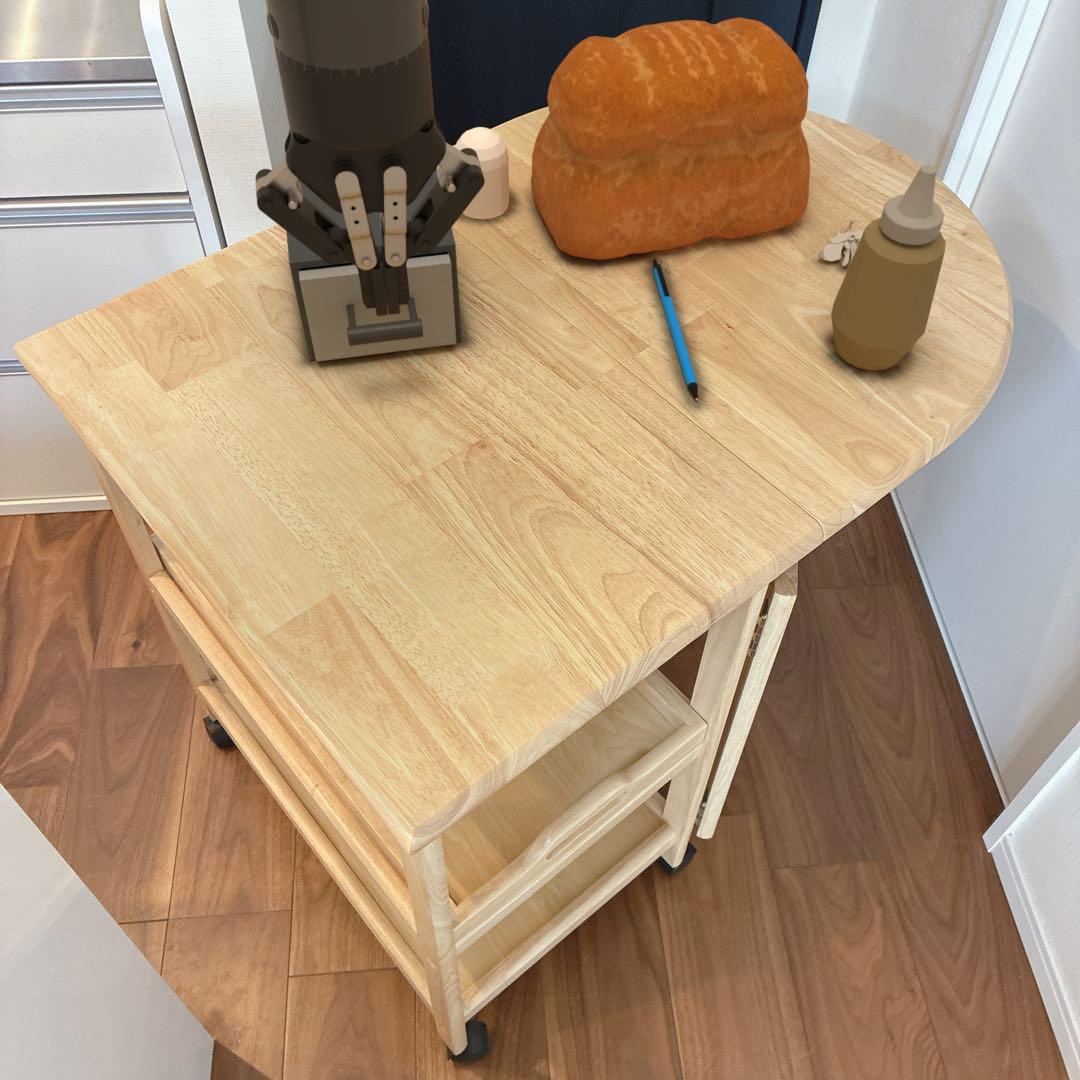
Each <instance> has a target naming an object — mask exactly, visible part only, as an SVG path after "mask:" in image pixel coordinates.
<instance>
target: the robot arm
mask: <svg viewBox="0 0 1080 1080" xmlns="http://www.w3.org/2000/svg"><path fill="white" fill-rule="evenodd" d="M265 4H266V9H267V10H266V11H267V13H266V21H267V26H268V29H269V33H270V35H271V37H272V41H273V45H274V53H275V57H276V63H277V68H278V74H279V78H280V83H281V89H282V95H283V99H284V104H285V110H286V116H287V121H288V126H289V130H288V134H287V136H286V139H285V142H284V152H285V157H284V158H283V159H282V160H281V161H280V162H279V163H278V164H277V165H276V166H275V167H273V168H272V169H270V168H263V169H260V170H258V171H257V173H256V174H255V197H256V204H257V208H258V210H259V211H260V212H261V213H262V214H264V215H266V216H267V217H268V218H269V219H270V220H272V221H273V222H274V223H275V224H277V225H278V226H280V227H281V229H283V230H285V232H286V231H287V232H288V233H290V234H291V235H292V236H294V237H295V238H296V239H297V240H299V241H300V242H301V243H302V244H304V245H305V246H306V247H308V248H309V249H310V250H311V251H313V252H314V253H315V254H316V255H318V256H319V257H320V258H322V259H323V260H324V261H325V262H327V263H328V264H331V265H336V264H339V263H341V262H342V261H348V262H351V263H353V264H354V265H355V266H356V267H357V269H358V273H359V280H360V286H361V293H362V299H363V303H364V305H365V306H366V308H367V309H370V308H376V314H377V316H385V315H388V312H389V315H394V314H400V306H399V305H404V304H408V301H409V298H410V293H409V284H408V275H407V260H408V259H409V257H410V256H412V255H413V254H415V253H418V252H420V253H422V254H428V253H431V252H432V251H434V249H435V248H436V247H437V246H438V244H439V243H440V242H441V240H442V239H443V238H444V236H445V235H446V234H447V233H448V231H449V230H450V229H451V228H452V227H453V226H454V225H455V224H456V223H457V221H458V219H459V218H460V217H461V216H462V215H463V214H462V213H463V212H464V211H465V209H466V208H467V207H468V205H469V204H470V203H471V201H472V200H473V199H474V198H475V196H476V195H477V194H478V192H479V191H480V190H481V188H482V187H483V186H484V183H485V179H484V176H483V172H482V169H481V166H480V162H479V159H478V156H477V153H476V151H475V150H473V149H471V148H464V149H462V150H458V149H456V148H455V147H454V146H453V145H451V144H450V143H448V142H446V138H445V135H444V130H443V128H442V126H441V125H440V123H439V122H438V120H437V118H436V117H435V108H434V95H433V93H434V91H433V79H432V66H431V53H430V37H429V26H428V25H429V21H430V8H429V3H428V0H265ZM436 168H437V177H438V181H437V182H436V184H435V185H434V186H433V188H432V189H431V190H430V192H429V193H428V195H427V196H426V197H425V199H424V200H423V201H422V203H421V204H420V205H419V207H418V208H417V209H416V211H415V212H414V214H413V215H412V216H411V218H410V221H408V222H407V217H406V206H408V205H410V204H411V203H412V202H413V201H414V200H415V199H416V198H417V196H418V195H419V193H420V192H421V190H422V189H423V187H424V186H425V184H426V183H427V182H428V180H429V179H430V177H431V176H432V174H433V173H434V171H435V170H436ZM298 179H299V180H300V181H301V182H302V183H304V184H305V185H306V186H307V187H308V188H309V189H310V190H311V191H312V192H314V193H315V194H316V195H317V196H318V197H319V198H320V199H321V200H322V201H324V202H325V203H326V204H327V205H328V206H329V207H330V208H332V209H333V210H335V211H337V212H339V213H343V215H344V219H345V223H346V227H347V229H344V228H340V226H339V225H338V224H337V223H336V222H334V221H333V220H332V219H331V218H329V217H328V216H327V215H326V214H325V213H323V212H322V211H321V210H320V209H319V208H317V207H316V206H315V205H314V204H313V203H311V202H310V201H309V200H308V199H307V198H305V197H304V196H303V191H302V185H301V184H300V182H299V181H298ZM373 212H380V228H381V238H382V245H381V246H379V248H380V254H379V248H378V246H375V240H374V237H373V235H372V230H371V226H370V222H369V217H368V214H370V213H373ZM380 256H381V259H380ZM381 263H382V265H381ZM385 294H386V295H385ZM386 300H387V302H386ZM387 306H388V310H387Z"/></svg>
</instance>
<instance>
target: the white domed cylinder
mask: <svg viewBox="0 0 1080 1080" xmlns="http://www.w3.org/2000/svg"><path fill="white" fill-rule="evenodd" d="M455 148H456V149H458V150H462V149H464V148H471V149H473V150H475V151H476V153H477V156H478V159H479V162H480V166H481V169H482V172H483V176H484V179H485V183H484V186H483V187H482V188H481V190H480V191H479V192H478V194H477V195H476V196H475V198H474V199H473V200H472V201H471V203H470V204H469V205H468V207H467V208H466V209H465V211H464V212H463V213H462V214H461V215H464V216H465V217H468V218H470V219H474V220H475V219H476V220H490V219H496V218H498V217H500V216H502V215H503V214H504V213H506V211H507V210H508V208H509V205H510V165H509V164H510V163H509V160H510V157H509V152H508V148H507V144H506V142H505V140H504V138H503V137H502V136H501V135H500V134H499V133H498V132H497V131H496V130H494V129H491V128H489V127H482V126H477V127H473V128H470V129H469V130H465V132H463V133H462V134H461V136H460V137H459V138H458V140H457V141H456V144H455Z"/></svg>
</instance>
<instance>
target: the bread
mask: <svg viewBox="0 0 1080 1080" xmlns="http://www.w3.org/2000/svg"><path fill="white" fill-rule="evenodd" d="M809 87H810V85H809V82H808V78H807V74H806V71H805V68H804V66H803V64H802V62H801V60H800V58H799V57H798V55H797V54H796V53H795V51H794V50H793V49H792V48H791V47H790V46H789V45H788V43H787V42H786V41H785V40H784V39H783V37H781V36H780V35H779V34H778V33H777V32H776V31H774V30H773V29H772V28H771V27H770V26H768V25H766V24H765V23H763V22H762V21H759V20H755V19H750V18H746V17H745V18H744V17H739V16H738V17H734V18H729V19H725V20H722V21H719V22H718V23H715V24H713V23H710V22H708V21H704V20H695V19H683V20H676V21H675V20H674V21H666V22H660V23H653V24H644V25H640V26H638V27H634V28H632V29H629V30H627V31H625V32H623V33H621V34H620V35H619V34H618V36H615V37H609V36H608V37H607V36H598V35H593V36H588V37H586V38H585V39H583V40H581V41H580V42H579V43H577V44H576V45H575V46H574V47H573V48H572V49H571V50H570V51H569V52H568V54H567V55H566V56H565V57H564V58H563V60H562V62H561V63H560V64H559V65H558V66H557V68H556V70H555V71H554V73H553V74H552V75H551V80H550V82H549V85H548V88H547V105H548V112H549V113H548V115H547V117H546V118H545V120H544V122H543V123H542V125H541V127H540V128H539V131H538V134H537V136H536V138H535V140H534V145H533V149H532V154H531V177H530V185H531V187H530V188H531V192H532V197H533V201H534V203H535V205H536V207H537V209H538V211H539V213H540V216H541V217H542V220H543V221H544V223H545V226H546V227H547V229H548V231H549V232H550V235H551V236H552V238H553V240H554V242H555V244H556V247H557V248H558V249H559V250H561V251H562V252H564V253H565V254H568V255H570V256H573V257H577V258H584V259H591V260H598V261H601V260H610V259H618V258H622V257H626V256H628V255H633V254H647V253H651V252H652V253H653V252H655V251H663V250H671V249H676V248H680V247H684V246H688V245H691V244H694V243H697V242H700V241H702V240H704V239H707V238H709V237H710V238H719V239H721V238H722V239H740V238H745V237H748V236H753V235H756V234H757V235H758V234H760V233H766V232H769V231H774V230H778V229H782V228H786V227H788V226H790V225H793V224H794V223H795V222H797V221H798V220H799V219H800V218H802V216H803V215H804V213H805V212H806V211H807V207H808V204H809V197H810V195H809V194H810V177H811V160H810V153H809V147H808V142H807V140H806V139H807V138H806V137H805V134H804V132H803V128H802V122H804V120H805V117H806V115H807V111H808V105H809V104H808V102H809Z"/></svg>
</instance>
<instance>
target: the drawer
mask: <svg viewBox="0 0 1080 1080" xmlns="http://www.w3.org/2000/svg"><path fill="white" fill-rule="evenodd" d="M381 265H382V263H381ZM407 275H408V284H409V293H410V298H409V301H408V304H404V305H399V306H400V314H394V315H389V312H388V315H385V316H377V314H376V308H370V309H367V308H366V306H365V305H364V303H363V299H362V293H361V286H360V280H359V273H358V269H357V267H356V266H355V265H349V266H347V263H345V264H336V265H327V266H319V267H310V268H307V270H305V271H299V280H300V285H301V290H302V295H303V300H304V304H305V309H306V314H307V319H308V324H309V328H310V333H311V338H312V343H313V348H314V353H315V357H316V360H315V361H316V362H323V361H324V362H325V361H331V360H339V359H346V358H347V359H348V358H355V357H364V356H370V355H378V354H379V355H381V354H387V353H393V352H394V353H395V352H401V351H410V350H418V349H426V348H435V347H442V346H443V347H444V346H450V345H451V346H452V345H456V344H457V342H456V330H455V315H454V300H453V286H452V271H451V261H450V257H449V254H445V255H440V253H432V254H424V255H415V256H410V257H409V259H408V260H407ZM385 295H386V294H385ZM386 302H387V300H386ZM387 310H388V306H387Z"/></svg>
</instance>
